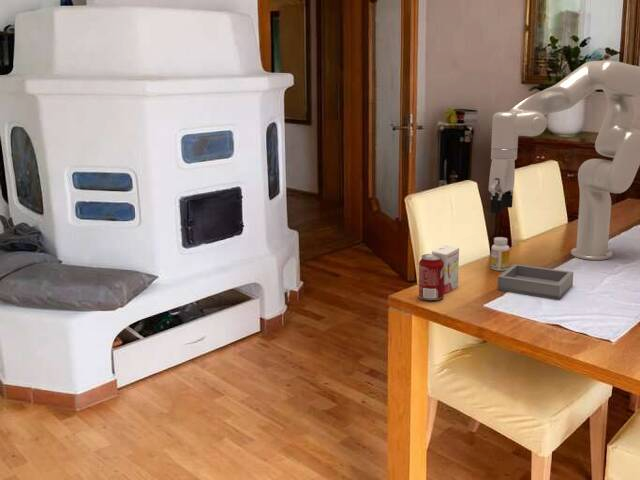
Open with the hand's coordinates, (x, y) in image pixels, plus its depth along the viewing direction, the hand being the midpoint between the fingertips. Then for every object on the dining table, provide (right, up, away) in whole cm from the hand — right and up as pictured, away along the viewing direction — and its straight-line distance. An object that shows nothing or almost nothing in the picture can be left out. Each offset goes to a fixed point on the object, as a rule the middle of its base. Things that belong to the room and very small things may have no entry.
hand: (501, 209), depth 201 cm
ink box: (-20, -23, -12) cm, 33 cm away
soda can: (-25, -25, -19) cm, 40 cm away
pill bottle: (+1, -18, +5) cm, 19 cm away
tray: (+6, -23, -14) cm, 27 cm away
